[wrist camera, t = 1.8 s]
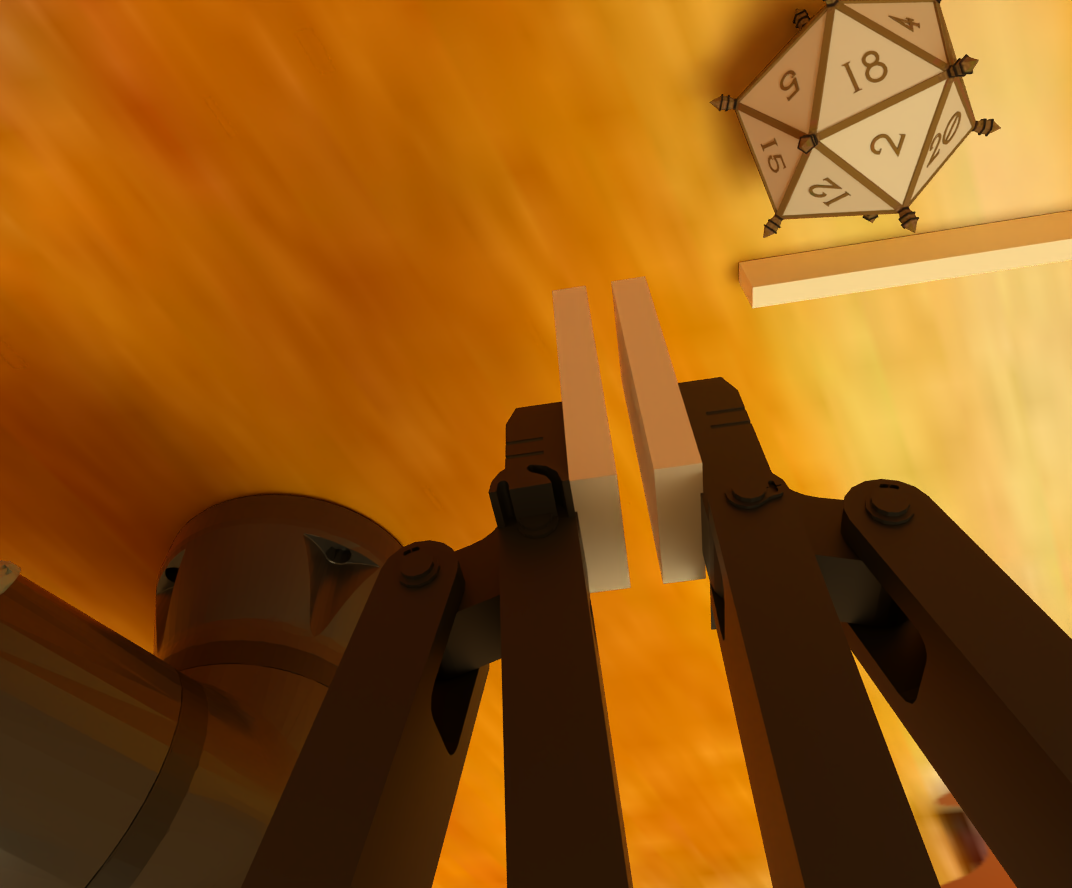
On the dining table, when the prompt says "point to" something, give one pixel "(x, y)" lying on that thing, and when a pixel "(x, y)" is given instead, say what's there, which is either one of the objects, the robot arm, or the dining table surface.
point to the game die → (857, 111)
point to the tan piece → (908, 260)
